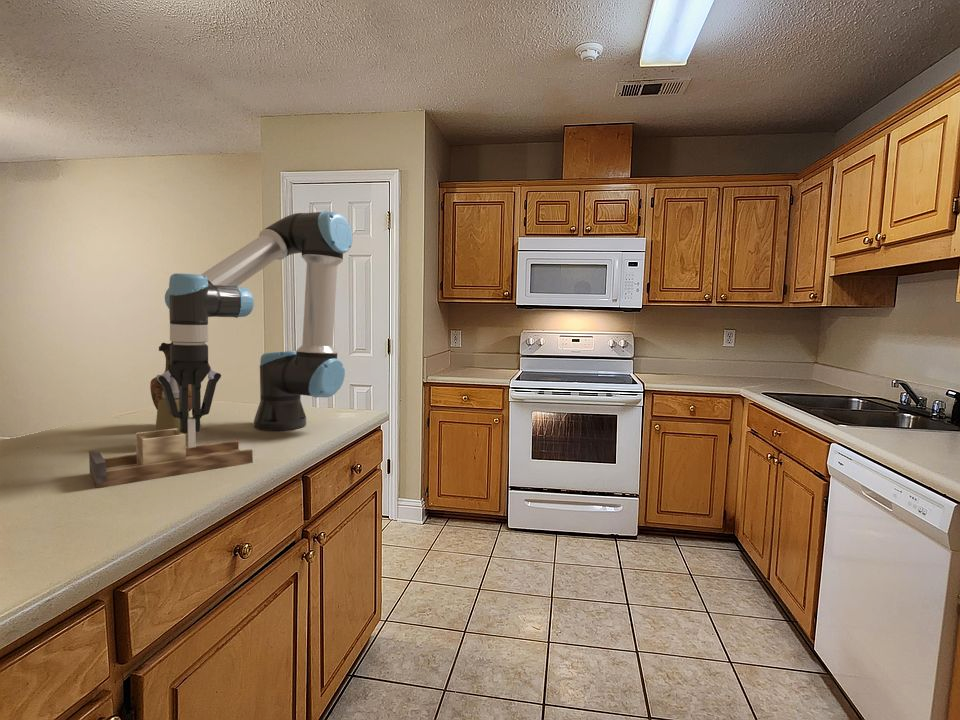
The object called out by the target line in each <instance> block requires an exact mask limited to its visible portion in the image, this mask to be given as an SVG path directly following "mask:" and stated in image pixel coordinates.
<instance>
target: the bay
mask: <svg viewBox="0 0 960 720" xmlns="http://www.w3.org/2000/svg"><path fill="white" fill-rule="evenodd" d="M239 444H240V442H239V440H231V441H224V442H215V443H208V444H202V445H200V444H199V445H196V447H193V448H188V447H186V459H181V460H174V461H167V462H161V463H154V464H147V465H140V466H138V465H137V453H136V454H135V453H133V454H126V455H118V456H111V457H103V455H102V453H101V452H100V450H99V449H95V450H94V449H93V450H88V458H89V459H88V460H89V462H88V463H89V465H88V466H89V476H90V478H91V479H92V482H93V483H94V485H95V487H96V489H99V488H100V489H101V488H106V487H113V486H119V485H125V484H132V483H137V482H143V481H148V480H155V479H156V480H157V479H161V478H162V479H163V478H166V477H175V476H179V475H186V474H191V473H196V472H197V473H198V472H203V471H209V470H216V469H222V468H223V469H224V468H228V467H234V466H235V467H236V466H240V465H248V464H252V463H254V458H253V456H254V455H253V452H254V451H253V449H251V448H250V449H249V448H248V449H244V450H241V449H239V448H240V447H239Z"/></svg>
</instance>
